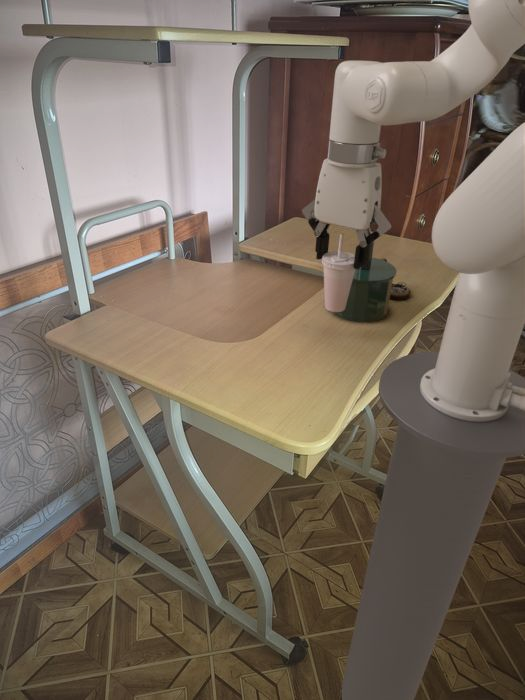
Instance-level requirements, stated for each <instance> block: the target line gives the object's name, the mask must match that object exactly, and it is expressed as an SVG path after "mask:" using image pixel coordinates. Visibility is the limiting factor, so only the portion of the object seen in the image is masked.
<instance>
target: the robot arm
mask: <svg viewBox="0 0 525 700" xmlns="http://www.w3.org/2000/svg"><path fill="white" fill-rule="evenodd" d="M467 8H468V9H467V10H468V15H469V19H470V23H471V24H470V25H469V26H468V28H467V29H466V31H465V32H464V33H463V34H462V35H461V36H460V37H458V38H457V40H456V41H454V42H453V43H452V44H451V45H450V46H448V47H447V48H445V50H444V51H442V52H441V53H440V54H439V55H437V56H436V57H434V58H433V59H431V60H430V61H428V60H427V61H426V60H420V61H419V60H417V61H415V60H414V61H410V60H409V61H389V62H388V61H387V62H380V61H377V60H376V61H373V60H344V61H342V62H340V63H339V64H338V66H337V67H336V69H335V73H334V81H333V90H332V91H333V93H332V103H331V104H332V105H331V114H330V125H329V128H330V129H329V137H328V138H329V139H328V147H327V157H326V158H325V159H324V160H323V162H322V164H321V168H320V172H319V177H318V181H317V186H316V192H315V198H314V199H313V200H312V201H311V202H309V203H308V204H307V205H306V206H304V207H303V208H302V209H301V213H302V214H303V216H304V217H305V219H306V221H307V222H308V225H309V226H310V228H311V229H312V231H313V235H314V237H315V249H314V251H315V253H316V256H315V258H316V260H319V261H321V260H322V256H323V255H324V254H325V253H328V252H329V246H330V235H331V234H330V233H329V232H328V230H329V228H330V226H331V225H332V226H337V227H342V228H346V229H352V230H355V233H356V236H357V240H358V245H356V247H355V251H354V255H355V259H354V269H359V268H360V267H361V266H363V265H364V264H365V263H366V262H367V258H368V251H369V244H370V243H371V242H373V241H374V242H375V241H376V240H377V239H379V238H381V236H383V235H385V234H386V233H387V232H388V231H390V230H391V229H392V224H391V223H390V221H389V220H388V219H387V217H386V216H385V214H384V213H383V212H382V210H381V205H382V187H383V185H382V184H383V181H382V180H383V177H382V176H383V174H382V164H381V163H379V162H377V161H378V160H380V159H385V158H386V156H387V149H386V148H382V147H381V146H380V145H381V142H379V141H380V135H381V128H382V126H397V125H405V124H412V123H422V122H429V121H433V120H436V119H438V118H441V117H442V116H444V115H446V114H447V113H450V112H451V111H453V110H454V109H456V108H457V107H459V106H460V105H461V104H463V103H464V102H466V101H467V100H469V99H470V98H472V97H473V96H474V95H476V94H478V93H479V92H480V91H481V90H483V89H484V88H485V87H486V86H488V85H489V83H491V82H492V80H494V79H495V77H496V76H497V75H498V74H499V73H500V71H501V70H502V69H503V68H504V67H505V66H506V64H507V63H508V62H509V60H510V58H511V57H512V56H513V55H514V53H516V51H517V50H519V49H520V48H521V47H523V46H524V45H525V0H467ZM434 217H435V218H434V220H433V223H432V228H431V244H432V247H433V248H432V249H433V252H434V253H435V255H436V257H437V258H438V260H439V261H440V262H441V263H442V264H443V265H444V266H445V267H447V268H448V269H450V270H451V271H454V272H456V273H458V278H457V280H456V284H455V287H454V291H453V295H452V298H451V303H450V307H449V311H448V315H447V319H446V322H445V327H444V331H443V335H442V339H441V343H440V347H439V355H438V359H437V363H436V367H435V369H432V370H430V371H428V372H427V373H425V374H424V375H423V377H422V379H421V383H420V391H421V394H422V396H423V397H424V399H425V400H426V401H427V402H428V403H429V404H430V405H431V406H433V407H434V408H435V409H437V410H439V411H440V412H442V413H444V414H446V415H449V416H451V417H454V418H457V419H461V420H466V421H474V422H485V421H491V420H495V419H498V418H500V417H502V416H503V415H504V414H505V413H506V412H507V410H508V407H509V405H510V406H513V407H516V408H518V409H520V410H523V411H525V389H524V388H521V387H520V388H519V387H516V386H513V385H512V383H510V382H508V380H509V377H510V374H511V373H509V372H508V371H509V369H510V367H511V365H512V361H513V359H514V356H515V353H516V351H517V348H518V344H519V341H520V338H521V336H522V332H523V330H524V327H525V122H523V123H521V124H520V125H519V126H517V127H516V128H515V129H514V130H513V131H512V132H511V133H510V134H509V135H507V136H506V138H504V139H503V140H502V141H501V142H500V144H499V145H498V146H496V148H495V149H493V151H492V152H491V153H490V154H489V155H487V157H486V158H485V159H484V160H482V162H480V164H479V165H478V166H477V167H476V168H475V169H474V170H473V171H472V172H471V173H470V174H469V175H468V176H467V177H466V178H465V179H464V180H463V181H462V182H461V184H459V185H458V186H457V187H456V189H454V190H453V192H452V193H451V194H450V195H449V196H448V197H447V198H446V199H445V201H444V202H443V203H442V204H441V206H440V208H439V209H438V210H437V213H436V215H435V216H434ZM376 224H377V229H376V230H374V231H373V232H372V230H371V225H376Z"/></svg>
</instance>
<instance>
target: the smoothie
mask: <svg viewBox="0 0 525 700" xmlns="http://www.w3.org/2000/svg"><path fill="white" fill-rule="evenodd" d="M343 241H344V233H340V234H339V241H338V250H333V251H328V253H325V254H324V255H323V256H322V259H321V263H322V265H323V289H324V290H323V292H324V293H323V294H324V295H323V296H324V309H325V310H326V311H328V312H332V313H334V312H342V311H344V310H345V307H346V303H347V299H348V296H349V292H350V288H351V284H352V281H353V277H354V273H355V269H354V259H355V253H354V254H353V253H351V252H347V251H343Z"/></svg>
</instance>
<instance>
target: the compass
mask: <svg viewBox="0 0 525 700" xmlns="http://www.w3.org/2000/svg"><path fill="white" fill-rule="evenodd" d="M380 259H381V260H384V261H386V262H388V260H387V258H380ZM411 292H412V291H411V290H410V289H409V288H408V287H407V283H406V282H403V281H399V282H397V283H392V288H391V293H390V299H392V300H405V299H408V298H410V297H411Z"/></svg>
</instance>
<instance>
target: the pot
mask: <svg viewBox="0 0 525 700" xmlns="http://www.w3.org/2000/svg"><path fill="white" fill-rule="evenodd" d="M393 281H394V278H393V279H391V280H389V281H385V282H380V283H362V282H356V281H352V284H351V288H350V292H349V296H348V299H347V303H346V307H345V310H344V311H342V312H333V313H334V314H335V315H337V316H338V317H340V318H343V319H346V320H348V321H353V322H362V323H366V322H368V323H369V322H375V321H379V320H381V319H383V318H384V317H385V316H387V313H388V310H389V304H390V299H391V298H390V293H391V288H392V284H393Z"/></svg>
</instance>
